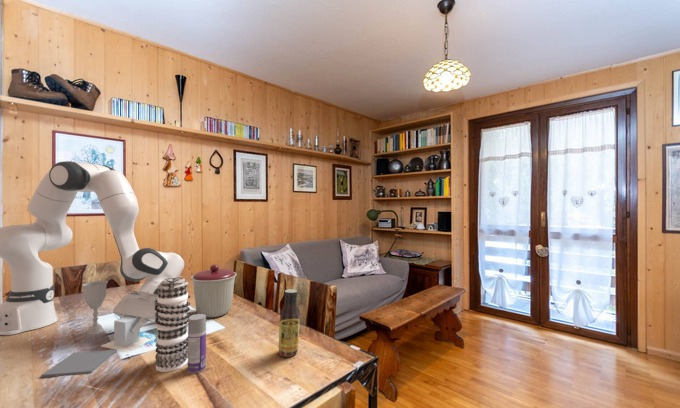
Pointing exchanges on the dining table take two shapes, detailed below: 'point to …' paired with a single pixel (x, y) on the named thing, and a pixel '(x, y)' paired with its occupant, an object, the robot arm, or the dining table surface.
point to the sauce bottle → (289, 325)
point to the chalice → (95, 301)
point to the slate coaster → (79, 363)
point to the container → (196, 343)
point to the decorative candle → (172, 324)
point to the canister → (213, 291)
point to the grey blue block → (125, 331)
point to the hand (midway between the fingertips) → (125, 331)
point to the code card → (128, 348)
